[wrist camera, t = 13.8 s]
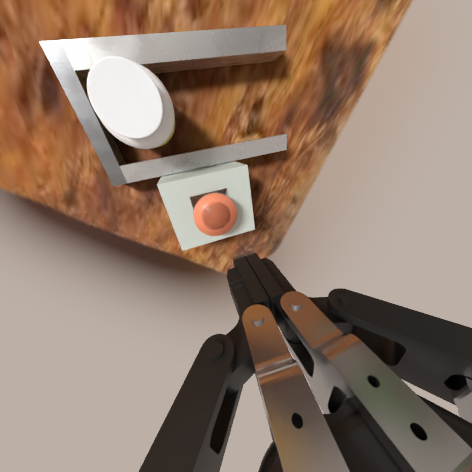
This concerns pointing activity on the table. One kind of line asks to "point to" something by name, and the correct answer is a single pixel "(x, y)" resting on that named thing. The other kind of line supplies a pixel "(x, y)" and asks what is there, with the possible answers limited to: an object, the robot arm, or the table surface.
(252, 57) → the rail
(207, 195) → the plunger
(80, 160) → the table surface
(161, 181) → the plunger housing block
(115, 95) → the pill bottle
